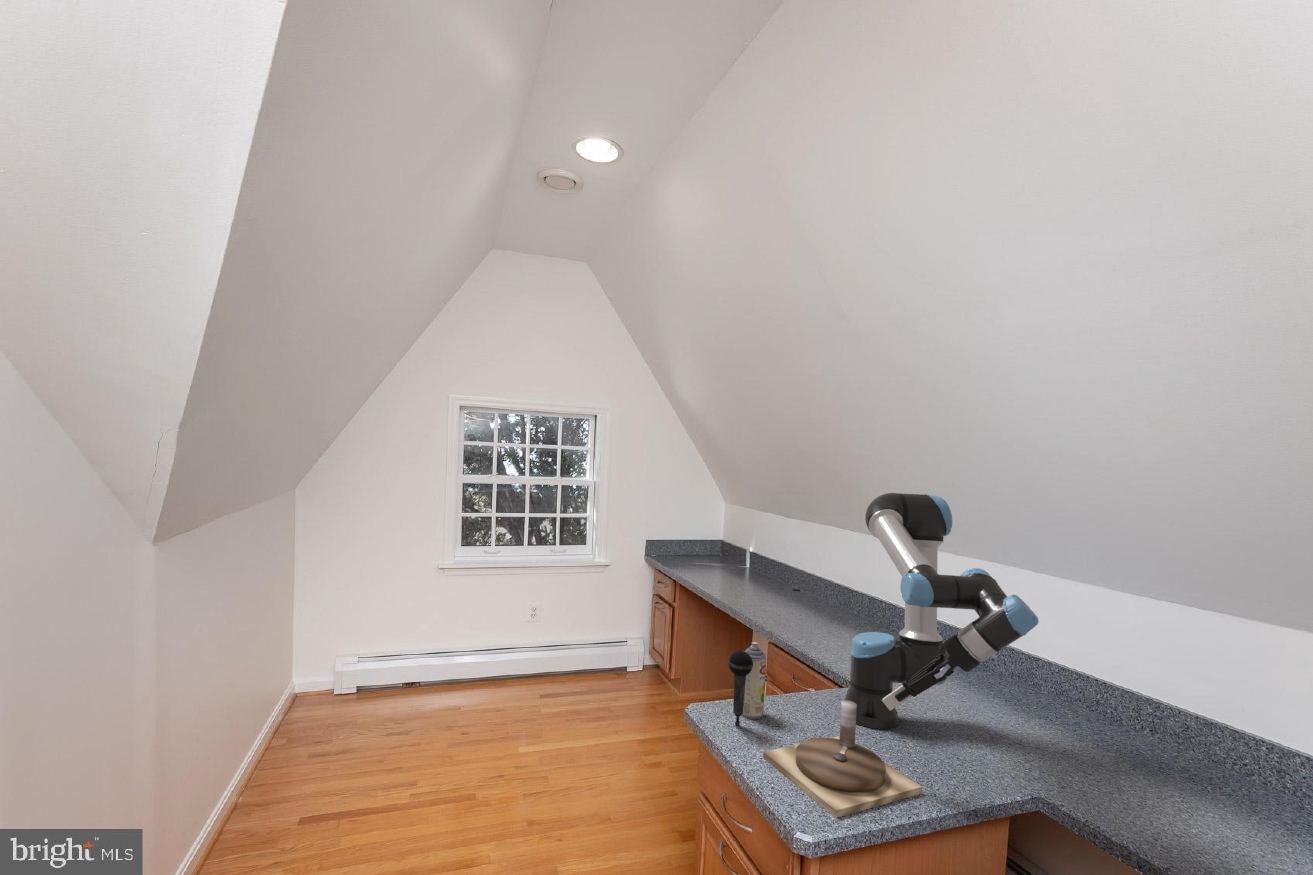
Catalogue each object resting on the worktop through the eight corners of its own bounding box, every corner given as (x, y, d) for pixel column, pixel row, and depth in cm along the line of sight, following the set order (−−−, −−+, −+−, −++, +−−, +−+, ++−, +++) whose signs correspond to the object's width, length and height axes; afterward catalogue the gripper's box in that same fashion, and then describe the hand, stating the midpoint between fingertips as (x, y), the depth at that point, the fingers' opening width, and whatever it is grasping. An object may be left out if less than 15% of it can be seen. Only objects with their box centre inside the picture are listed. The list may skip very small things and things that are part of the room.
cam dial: (877, 802, 125) (880, 745, 125) (784, 772, 134) (787, 719, 135) (891, 761, 142) (893, 711, 142) (808, 737, 152) (810, 690, 152)
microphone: (730, 732, 156) (734, 656, 157) (720, 720, 163) (724, 647, 163) (754, 730, 158) (758, 655, 158) (743, 719, 165) (747, 646, 165)
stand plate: (841, 741, 155) (841, 733, 155) (921, 793, 132) (922, 784, 132) (763, 757, 144) (763, 749, 144) (835, 817, 121) (836, 808, 121)
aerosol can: (761, 720, 164) (765, 648, 164) (737, 716, 166) (741, 644, 166) (764, 710, 171) (768, 641, 171) (740, 706, 173) (744, 637, 173)
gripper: (981, 671, 125) (894, 729, 133) (982, 654, 137) (901, 709, 144) (954, 640, 128) (870, 699, 136) (957, 627, 140) (879, 682, 147)
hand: (886, 704), depth 140 cm, fingers closed
